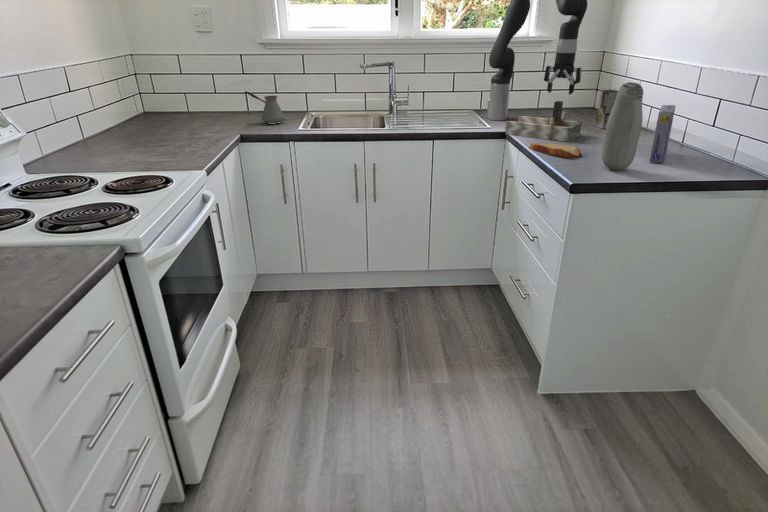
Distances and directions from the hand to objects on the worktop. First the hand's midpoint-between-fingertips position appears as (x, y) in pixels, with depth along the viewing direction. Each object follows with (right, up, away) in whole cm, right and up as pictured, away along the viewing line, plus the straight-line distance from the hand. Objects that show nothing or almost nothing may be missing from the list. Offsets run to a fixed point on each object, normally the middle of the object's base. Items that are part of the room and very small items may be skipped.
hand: (559, 93), depth 204 cm
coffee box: (+29, -9, +22) cm, 38 cm away
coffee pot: (-134, -1, +44) cm, 141 cm away
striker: (0, -13, +7) cm, 14 cm away
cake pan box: (+27, -32, -25) cm, 48 cm away
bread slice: (-8, -29, -16) cm, 34 cm away
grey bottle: (+5, -39, -37) cm, 54 cm away
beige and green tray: (-5, -14, +11) cm, 19 cm away
